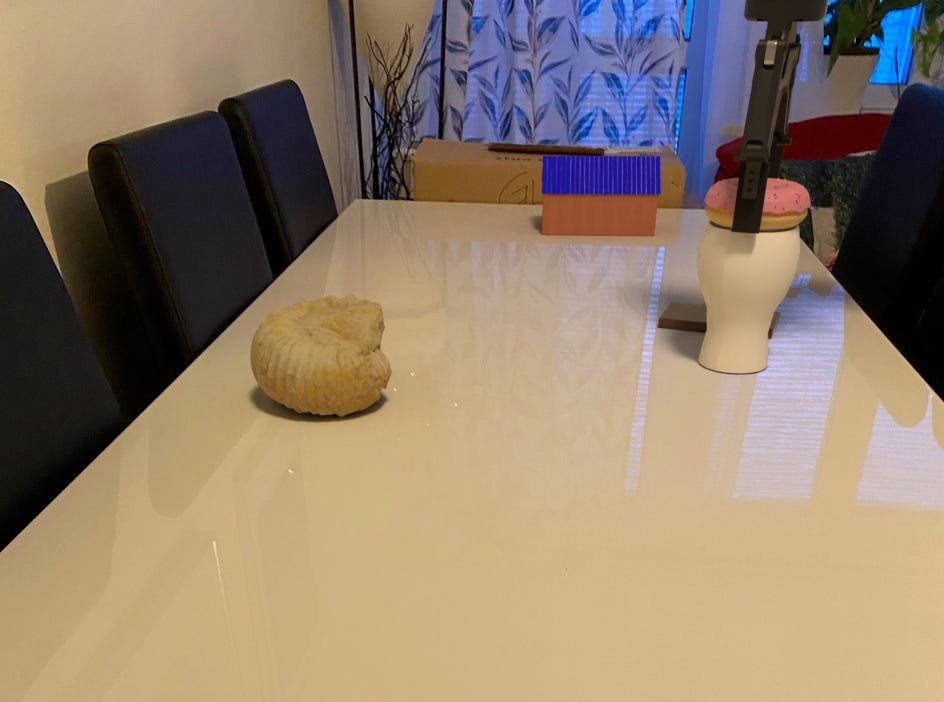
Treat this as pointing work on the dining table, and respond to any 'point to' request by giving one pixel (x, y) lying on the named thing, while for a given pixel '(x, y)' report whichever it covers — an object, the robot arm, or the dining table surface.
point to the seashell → (322, 355)
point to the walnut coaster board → (695, 318)
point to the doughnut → (779, 210)
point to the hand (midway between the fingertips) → (753, 221)
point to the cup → (743, 293)
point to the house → (600, 195)
